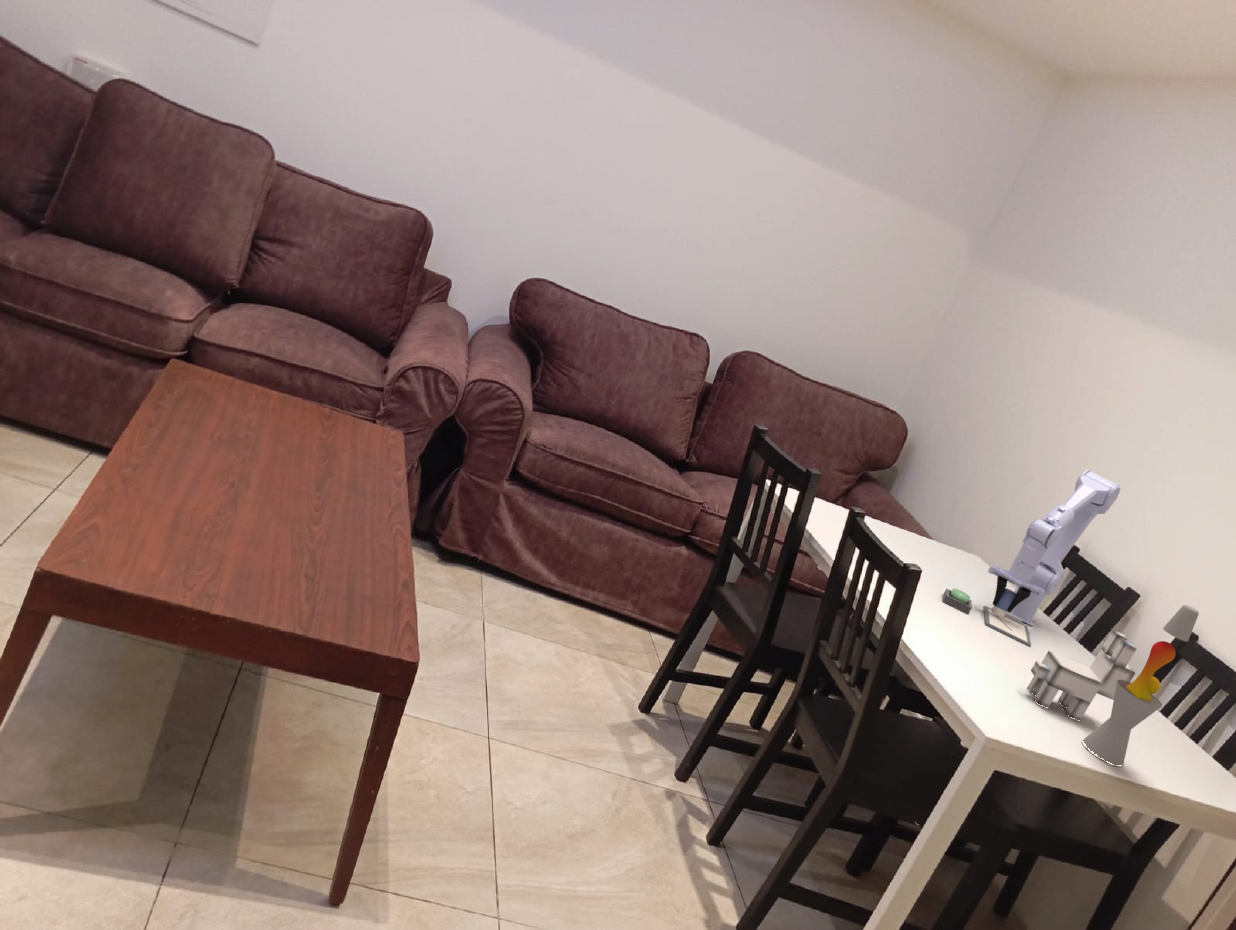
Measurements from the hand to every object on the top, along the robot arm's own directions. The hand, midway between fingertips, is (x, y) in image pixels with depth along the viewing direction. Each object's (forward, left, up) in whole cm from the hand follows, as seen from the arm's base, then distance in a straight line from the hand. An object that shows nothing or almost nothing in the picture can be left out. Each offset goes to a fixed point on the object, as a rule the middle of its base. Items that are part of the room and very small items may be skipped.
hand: (1001, 607), depth 271 cm
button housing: (+5, -11, -3) cm, 13 cm away
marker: (0, 0, -2) cm, 2 cm away
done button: (+5, -11, -2) cm, 12 cm away
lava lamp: (+61, +21, -3) cm, 64 cm away
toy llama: (+46, +13, -3) cm, 48 cm away
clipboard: (+3, +3, -3) cm, 5 cm away
